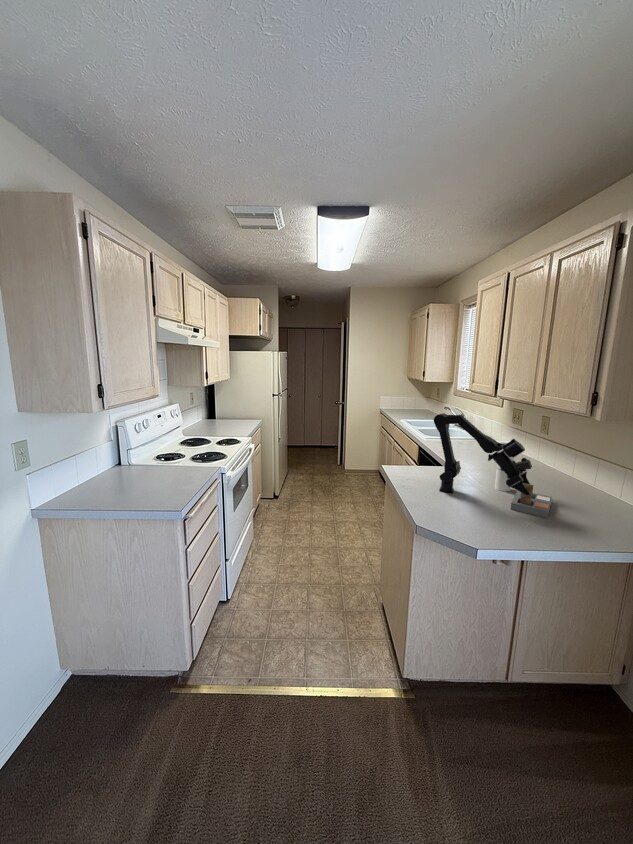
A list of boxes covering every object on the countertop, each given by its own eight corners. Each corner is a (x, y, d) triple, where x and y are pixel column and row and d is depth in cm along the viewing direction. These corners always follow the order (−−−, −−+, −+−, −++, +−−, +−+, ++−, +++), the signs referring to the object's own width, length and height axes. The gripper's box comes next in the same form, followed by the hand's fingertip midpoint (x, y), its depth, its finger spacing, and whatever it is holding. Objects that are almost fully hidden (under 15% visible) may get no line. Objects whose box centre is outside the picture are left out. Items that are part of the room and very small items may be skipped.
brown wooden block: (519, 508, 156) (522, 485, 154) (520, 505, 159) (523, 483, 157) (529, 511, 153) (532, 487, 152) (530, 508, 157) (533, 485, 155)
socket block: (510, 509, 155) (511, 502, 155) (516, 495, 171) (517, 489, 170) (547, 517, 147) (548, 510, 146) (550, 503, 163) (551, 496, 162)
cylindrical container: (512, 491, 176) (518, 443, 172) (496, 490, 177) (502, 443, 173) (507, 486, 183) (513, 440, 178) (492, 485, 184) (498, 439, 180)
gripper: (517, 457, 147) (545, 488, 142) (523, 449, 162) (548, 476, 157) (495, 471, 153) (520, 501, 148) (502, 462, 168) (526, 489, 163)
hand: (530, 491), depth 154 cm, fingers open, 9 cm apart
